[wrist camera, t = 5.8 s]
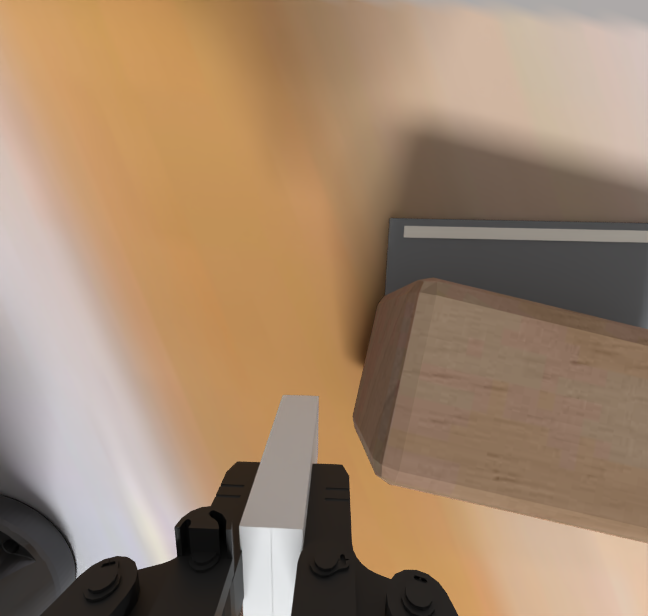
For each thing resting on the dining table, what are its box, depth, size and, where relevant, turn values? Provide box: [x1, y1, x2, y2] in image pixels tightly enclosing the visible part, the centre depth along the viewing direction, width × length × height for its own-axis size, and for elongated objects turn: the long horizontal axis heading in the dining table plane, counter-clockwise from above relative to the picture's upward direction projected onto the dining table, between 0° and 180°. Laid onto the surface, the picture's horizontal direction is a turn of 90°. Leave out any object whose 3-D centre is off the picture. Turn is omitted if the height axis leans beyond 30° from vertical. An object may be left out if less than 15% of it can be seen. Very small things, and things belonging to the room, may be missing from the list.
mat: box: [385, 218, 648, 329], centre depth 26 cm, size 22×17×1 cm
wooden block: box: [353, 278, 648, 543], centre depth 21 cm, size 10×10×20 cm
